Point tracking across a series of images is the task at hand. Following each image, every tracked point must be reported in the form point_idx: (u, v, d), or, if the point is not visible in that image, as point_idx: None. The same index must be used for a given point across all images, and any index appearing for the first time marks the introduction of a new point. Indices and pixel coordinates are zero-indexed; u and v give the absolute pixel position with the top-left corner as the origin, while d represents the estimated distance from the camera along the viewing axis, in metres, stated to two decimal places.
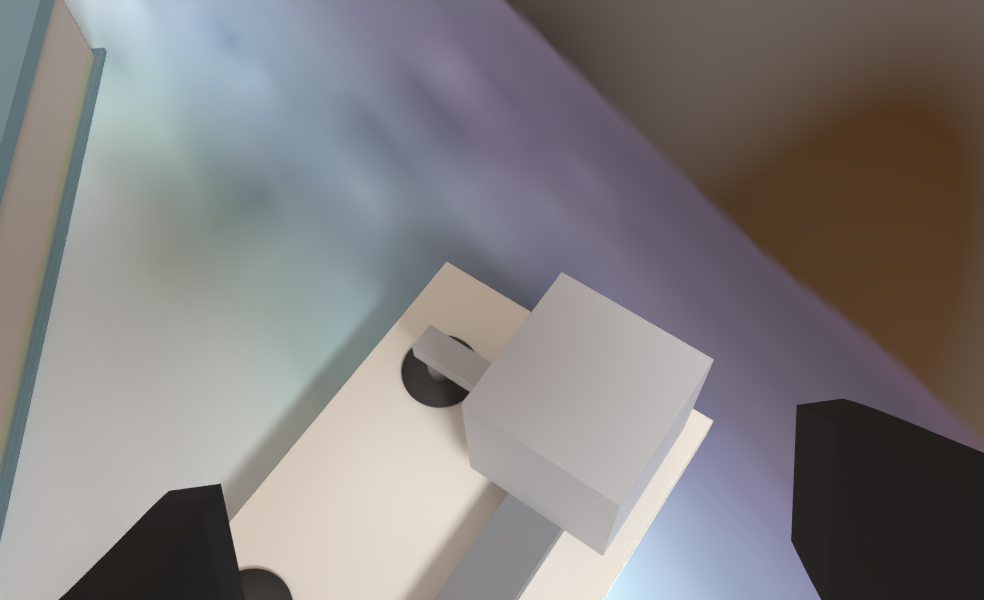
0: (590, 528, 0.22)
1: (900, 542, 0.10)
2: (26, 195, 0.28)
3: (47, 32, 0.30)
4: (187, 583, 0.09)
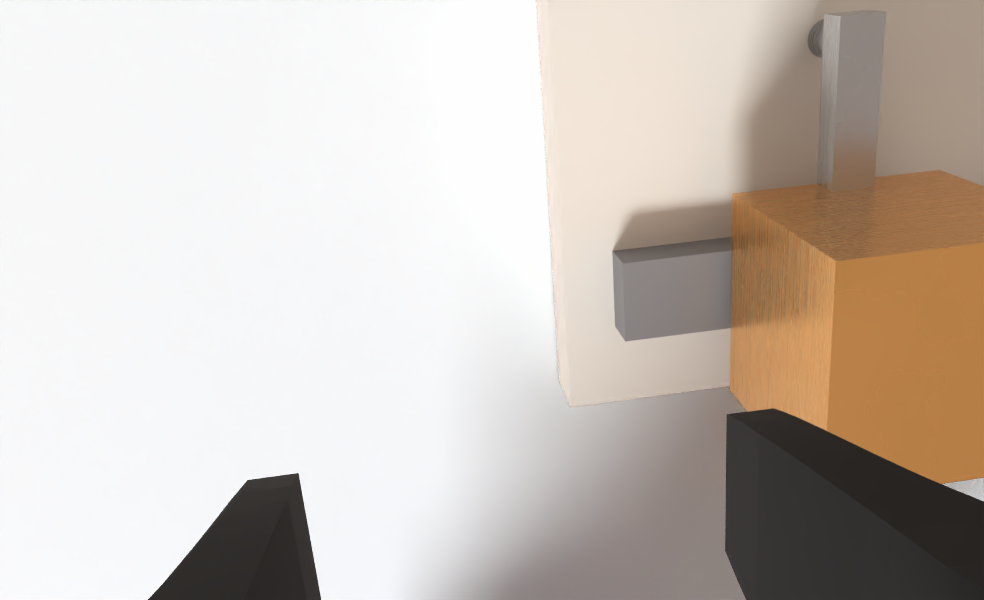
0: None
1: (817, 555, 0.09)
2: None
3: None
4: (279, 570, 0.09)
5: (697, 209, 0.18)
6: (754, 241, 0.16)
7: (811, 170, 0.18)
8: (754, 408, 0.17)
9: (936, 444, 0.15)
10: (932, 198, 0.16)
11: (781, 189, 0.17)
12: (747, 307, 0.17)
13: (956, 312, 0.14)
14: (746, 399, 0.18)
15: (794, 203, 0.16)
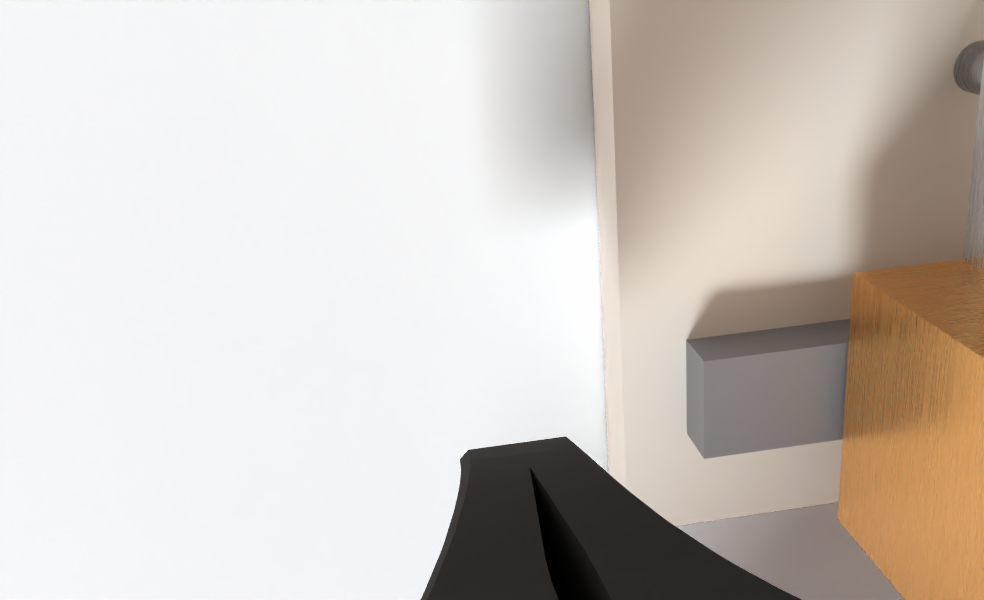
0: None
1: (566, 593, 0.09)
2: None
3: None
4: None
5: (797, 286, 0.14)
6: (890, 342, 0.12)
7: (944, 235, 0.14)
8: (880, 555, 0.13)
9: None
10: None
11: (918, 267, 0.13)
12: (873, 424, 0.13)
13: None
14: (864, 538, 0.13)
15: (945, 292, 0.12)
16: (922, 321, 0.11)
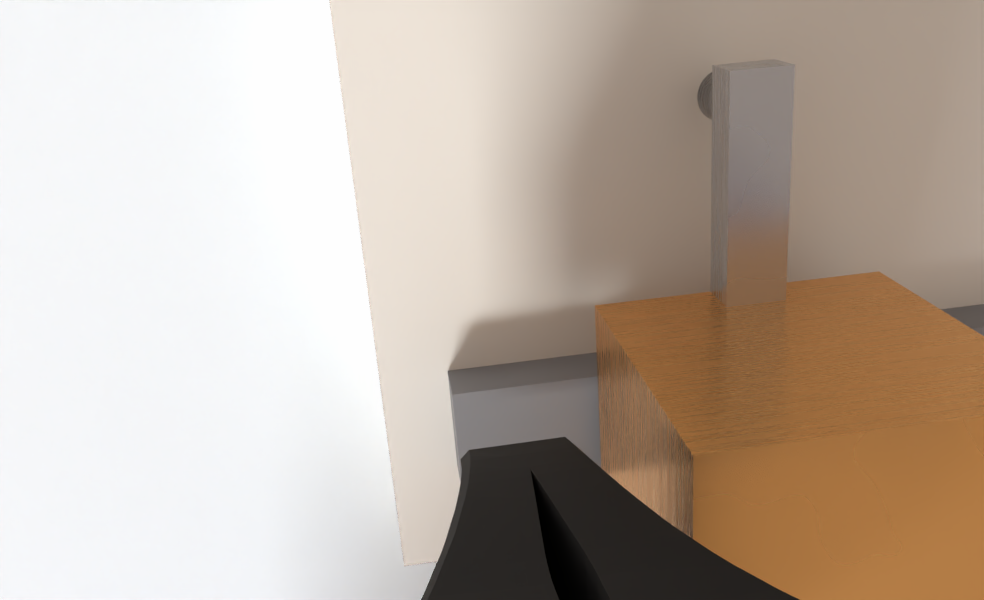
0: None
1: (565, 593, 0.09)
2: None
3: None
4: None
5: (560, 317, 0.14)
6: (615, 379, 0.12)
7: None
8: None
9: None
10: (860, 324, 0.11)
11: (662, 300, 0.12)
12: (613, 461, 0.12)
13: (881, 519, 0.09)
14: None
15: (670, 329, 0.12)
16: (629, 360, 0.11)
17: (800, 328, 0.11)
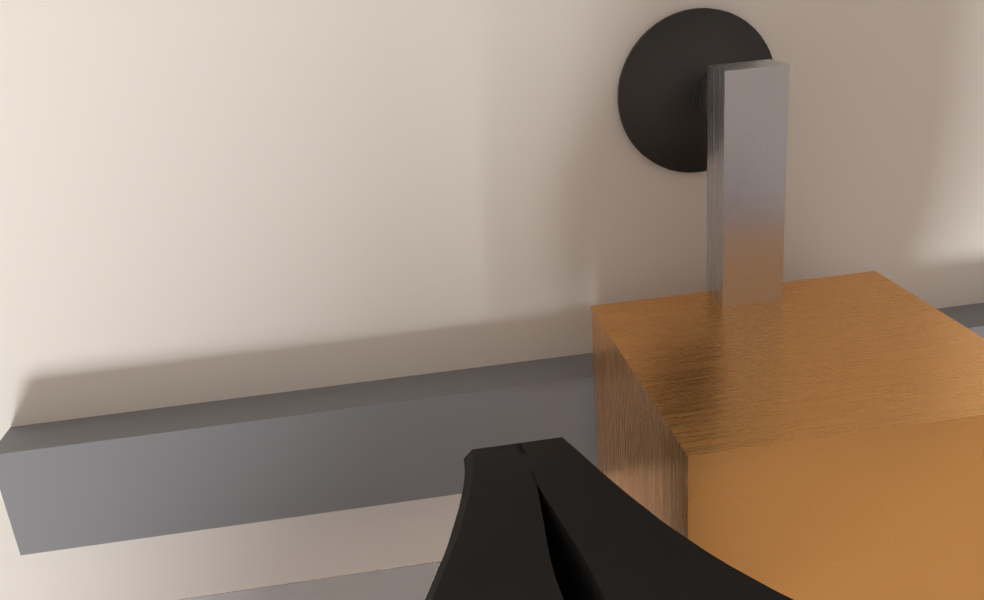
0: None
1: (561, 594, 0.09)
2: None
3: None
4: None
5: (126, 370, 0.13)
6: (612, 380, 0.12)
7: (285, 315, 0.13)
8: None
9: None
10: (856, 324, 0.11)
11: (657, 300, 0.12)
12: (609, 461, 0.12)
13: (876, 520, 0.09)
14: None
15: (665, 329, 0.12)
16: (624, 361, 0.11)
17: (796, 328, 0.11)
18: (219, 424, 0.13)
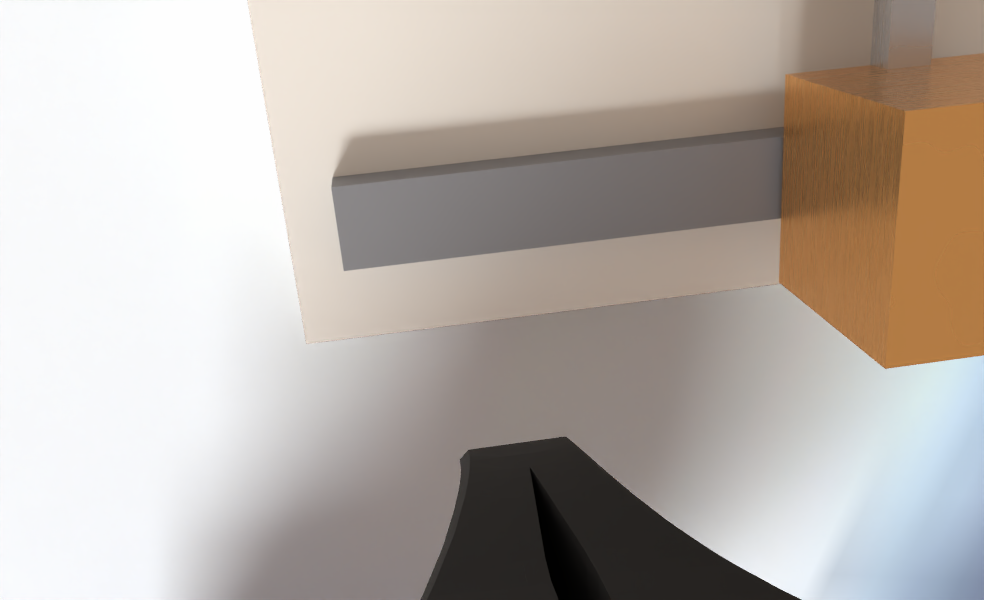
0: None
1: (566, 593, 0.09)
2: None
3: None
4: None
5: (420, 133, 0.17)
6: (810, 117, 0.16)
7: (540, 92, 0.17)
8: (807, 292, 0.17)
9: None
10: None
11: (835, 70, 0.17)
12: (801, 188, 0.17)
13: None
14: (797, 286, 0.17)
15: (851, 78, 0.16)
16: (829, 90, 0.15)
17: (949, 72, 0.16)
18: (495, 169, 0.17)
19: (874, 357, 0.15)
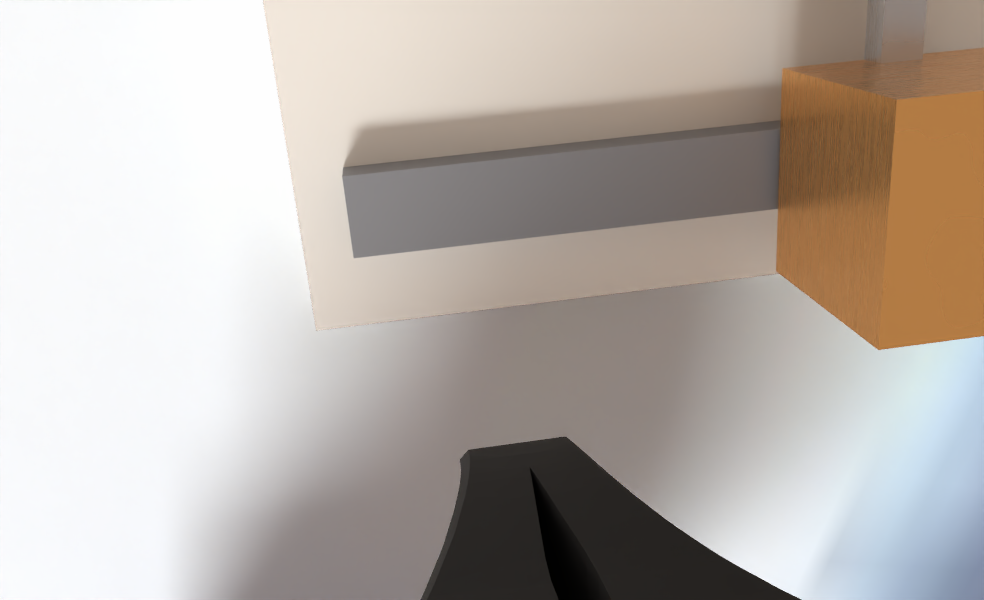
0: None
1: (566, 593, 0.09)
2: None
3: None
4: None
5: (428, 124, 0.18)
6: (806, 109, 0.17)
7: (544, 85, 0.18)
8: (803, 280, 0.17)
9: None
10: (982, 62, 0.16)
11: (830, 64, 0.17)
12: (797, 179, 0.17)
13: None
14: (793, 273, 0.18)
15: (845, 71, 0.16)
16: (824, 82, 0.16)
17: (940, 65, 0.16)
18: (501, 159, 0.18)
19: (868, 339, 0.15)
